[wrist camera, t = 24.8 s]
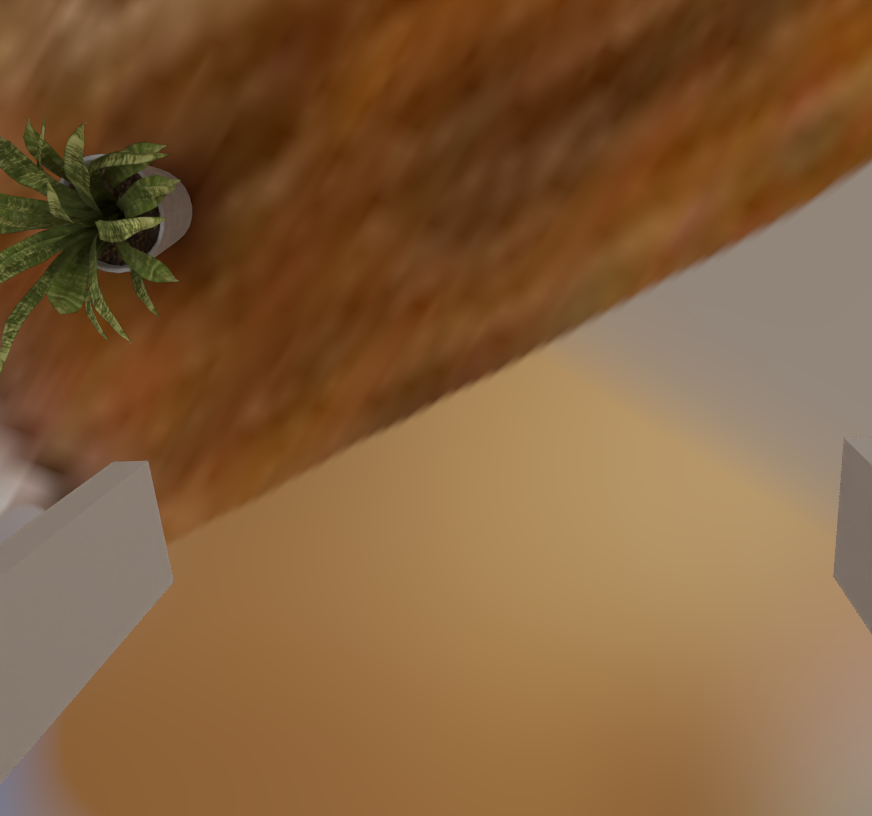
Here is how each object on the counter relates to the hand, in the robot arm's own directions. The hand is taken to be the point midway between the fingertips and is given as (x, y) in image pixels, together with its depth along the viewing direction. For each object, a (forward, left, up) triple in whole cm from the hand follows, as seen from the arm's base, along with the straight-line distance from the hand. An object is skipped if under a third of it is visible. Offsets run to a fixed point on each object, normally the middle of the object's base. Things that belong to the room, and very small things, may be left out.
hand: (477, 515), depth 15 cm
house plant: (-20, -15, -39) cm, 46 cm away
